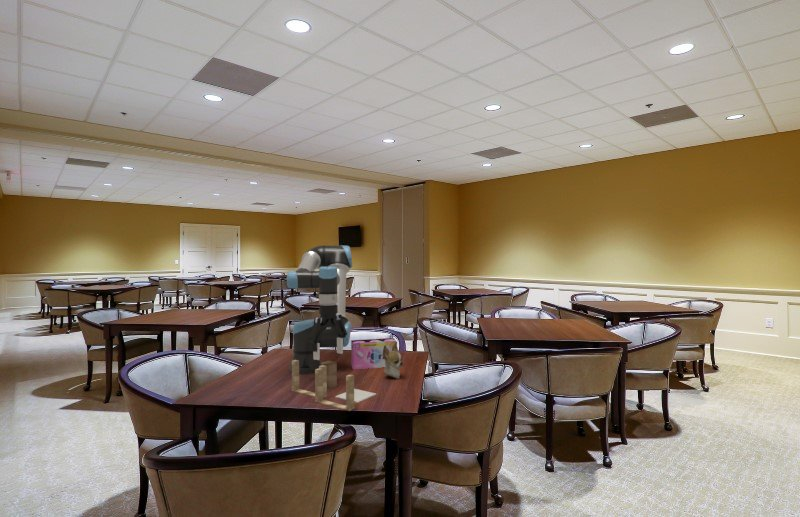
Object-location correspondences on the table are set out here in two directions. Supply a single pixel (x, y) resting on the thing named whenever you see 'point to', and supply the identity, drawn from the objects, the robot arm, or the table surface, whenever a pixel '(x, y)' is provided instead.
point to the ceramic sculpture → (392, 361)
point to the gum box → (369, 352)
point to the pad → (357, 395)
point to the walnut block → (331, 373)
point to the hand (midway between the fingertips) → (328, 356)
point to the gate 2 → (319, 399)
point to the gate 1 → (296, 379)
